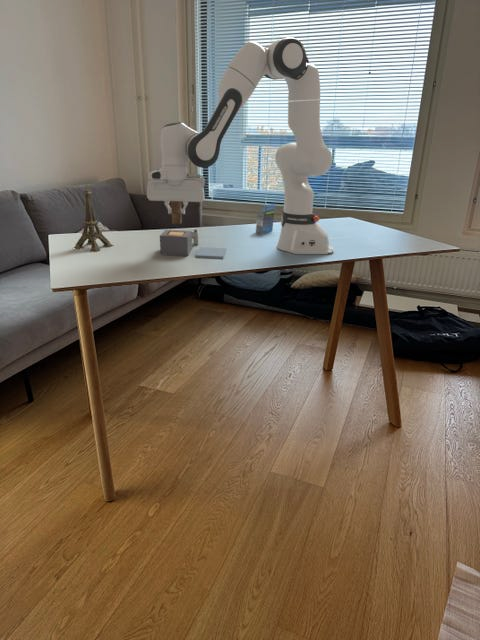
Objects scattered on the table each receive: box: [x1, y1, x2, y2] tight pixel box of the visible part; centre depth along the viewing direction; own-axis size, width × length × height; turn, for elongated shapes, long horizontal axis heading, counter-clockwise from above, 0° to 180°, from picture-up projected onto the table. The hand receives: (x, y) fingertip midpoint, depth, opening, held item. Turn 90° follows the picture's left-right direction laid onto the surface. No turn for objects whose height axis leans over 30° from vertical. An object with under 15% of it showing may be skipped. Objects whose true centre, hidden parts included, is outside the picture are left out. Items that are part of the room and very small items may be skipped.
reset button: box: [168, 232, 184, 236], centre depth 157 cm, size 5×5×3 cm
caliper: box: [192, 228, 199, 246], centre depth 176 cm, size 20×1×6 cm, turn 22°
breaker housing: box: [159, 229, 193, 257], centre depth 158 cm, size 10×10×7 cm
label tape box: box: [255, 203, 275, 234], centre depth 194 cm, size 9×4×12 cm, turn 144°
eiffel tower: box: [73, 180, 114, 253], centre depth 156 cm, size 11×11×25 cm
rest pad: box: [195, 246, 227, 259], centre depth 158 cm, size 10×12×1 cm
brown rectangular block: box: [170, 201, 183, 225], centre depth 153 cm, size 3×3×8 cm
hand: (176, 213), depth 153 cm, fingers closed on brown rectangular block, 3 cm apart
